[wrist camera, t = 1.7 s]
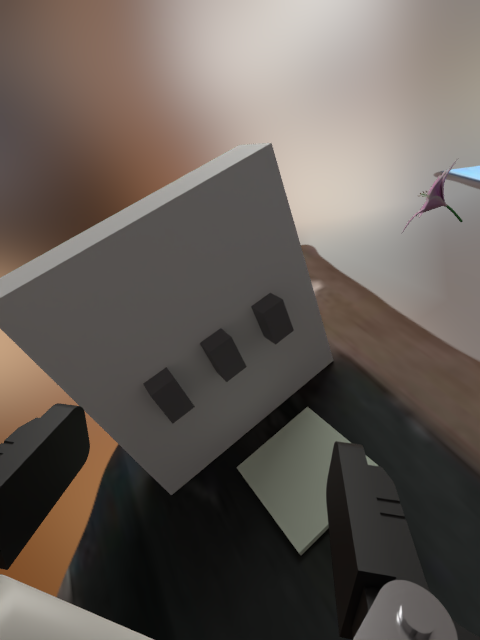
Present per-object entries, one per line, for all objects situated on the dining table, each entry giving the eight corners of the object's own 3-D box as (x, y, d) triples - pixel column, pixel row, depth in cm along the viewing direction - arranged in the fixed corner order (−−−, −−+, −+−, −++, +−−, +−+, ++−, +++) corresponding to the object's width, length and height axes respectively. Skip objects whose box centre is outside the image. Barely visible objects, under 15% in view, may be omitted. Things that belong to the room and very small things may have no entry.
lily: (449, 204, 62) (417, 163, 60) (511, 189, 51) (474, 138, 49) (405, 253, 62) (371, 214, 60) (458, 249, 51) (419, 201, 48)
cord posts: (533, 484, 26) (641, 119, 12) (301, 764, 20) (-105, 758, 5) (504, 466, 28) (567, 123, 13) (281, 721, 22) (-79, 624, 7)
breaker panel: (345, 368, 41) (286, 142, 26) (178, 510, 35) (-22, 320, 20) (306, 343, 47) (239, 144, 32) (156, 463, 41) (-15, 286, 26)
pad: (383, 473, 31) (382, 469, 31) (300, 555, 28) (298, 553, 28) (308, 409, 39) (307, 406, 38) (238, 470, 36) (236, 467, 36)
